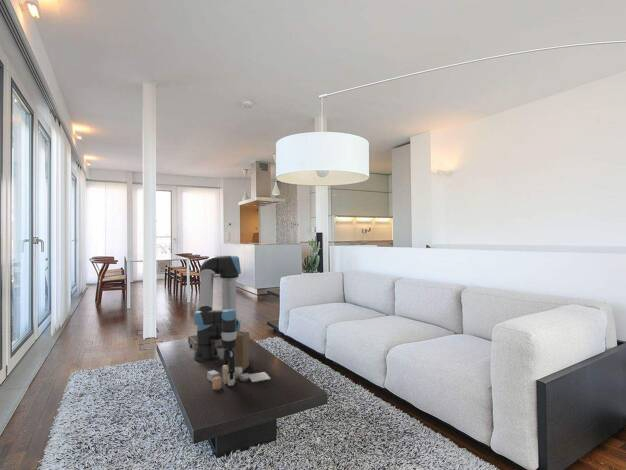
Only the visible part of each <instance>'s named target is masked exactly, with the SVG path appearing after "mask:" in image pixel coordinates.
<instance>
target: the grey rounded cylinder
mask: <svg viewBox="0 0 626 470" xmlns="http://www.w3.org/2000/svg"><path fill="white" fill-rule="evenodd" d="M241 373H243V371H242V367H235V380H237V379H238V380H239V374H241Z"/></svg>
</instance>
